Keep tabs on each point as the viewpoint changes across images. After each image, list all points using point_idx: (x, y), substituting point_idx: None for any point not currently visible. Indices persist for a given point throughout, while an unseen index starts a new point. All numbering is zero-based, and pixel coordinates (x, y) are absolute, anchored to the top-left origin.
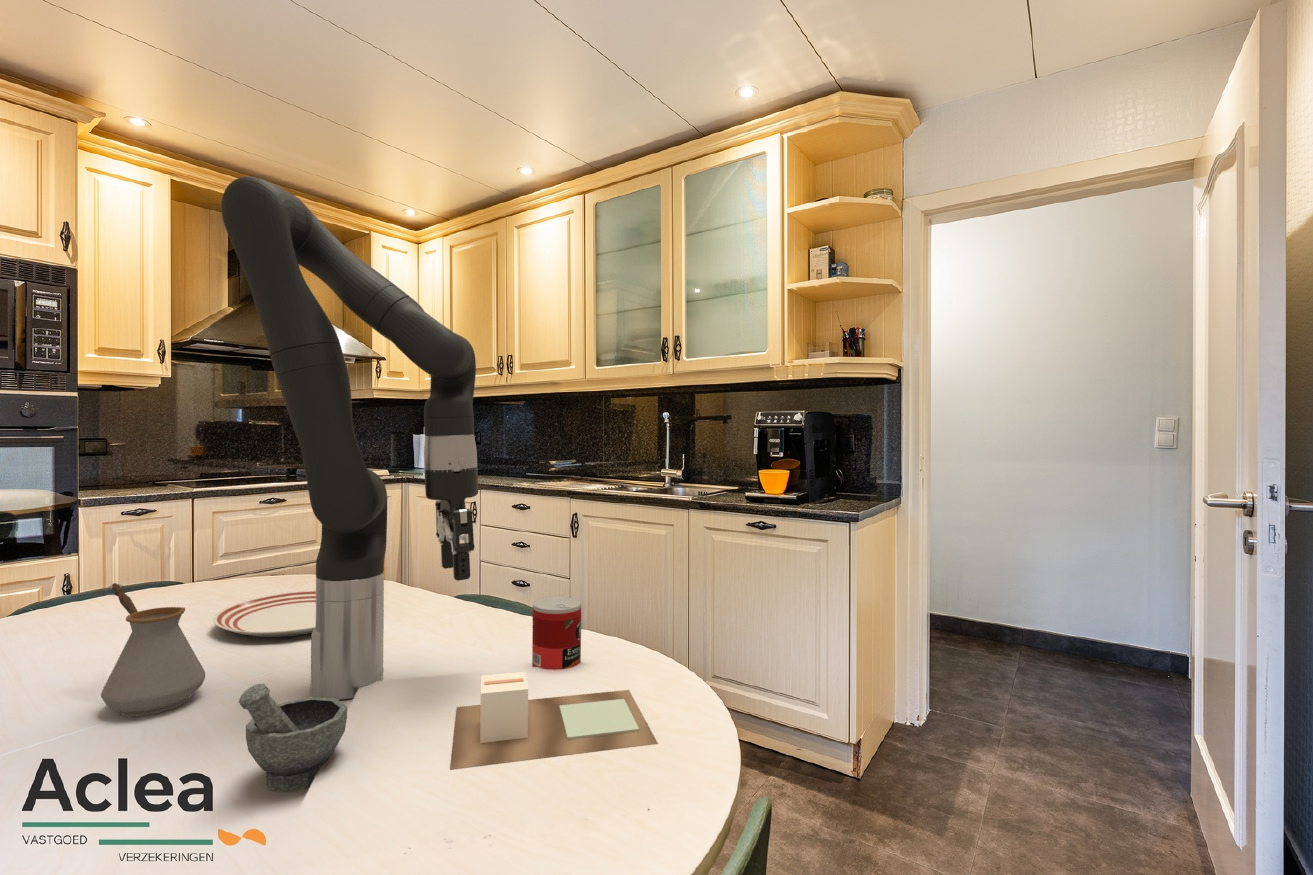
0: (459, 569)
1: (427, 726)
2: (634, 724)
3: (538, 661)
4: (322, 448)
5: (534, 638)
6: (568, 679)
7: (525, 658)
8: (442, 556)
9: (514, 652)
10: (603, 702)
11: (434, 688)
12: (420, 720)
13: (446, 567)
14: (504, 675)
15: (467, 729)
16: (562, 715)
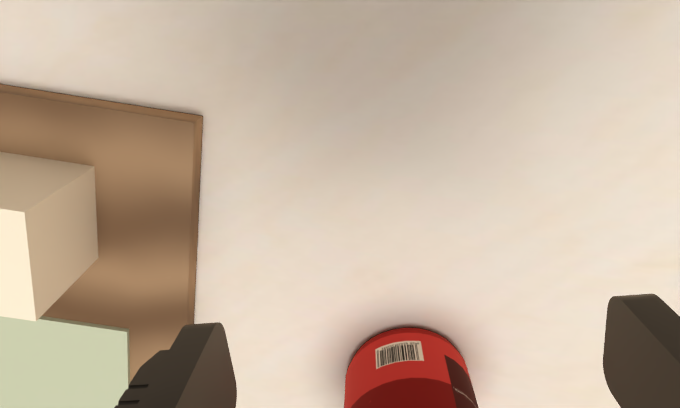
0: (129, 396)
1: (175, 41)
2: None
3: (382, 354)
4: None
5: (408, 391)
6: (334, 378)
7: (517, 328)
8: (664, 349)
9: (579, 314)
10: None
11: (417, 78)
12: (216, 26)
13: (609, 316)
14: (16, 269)
15: (58, 132)
16: (75, 325)
